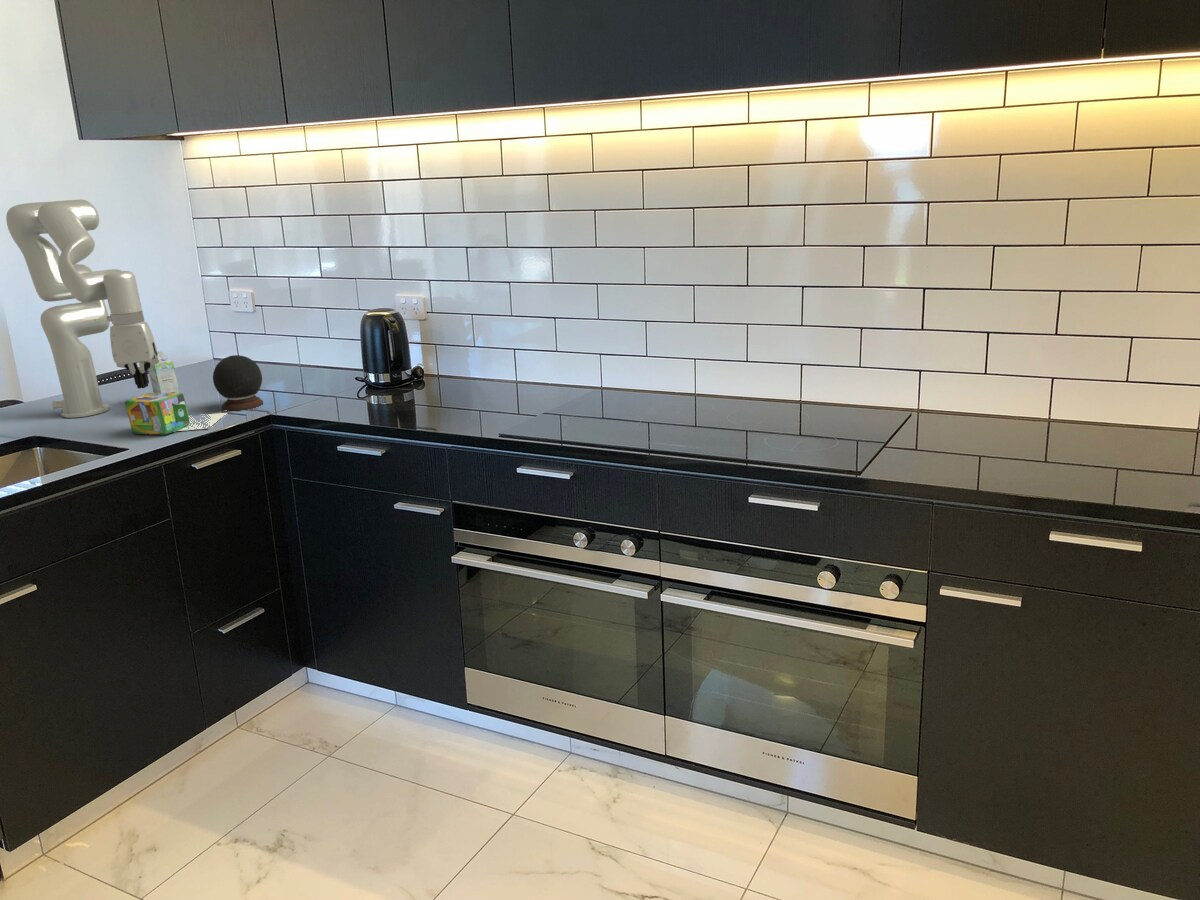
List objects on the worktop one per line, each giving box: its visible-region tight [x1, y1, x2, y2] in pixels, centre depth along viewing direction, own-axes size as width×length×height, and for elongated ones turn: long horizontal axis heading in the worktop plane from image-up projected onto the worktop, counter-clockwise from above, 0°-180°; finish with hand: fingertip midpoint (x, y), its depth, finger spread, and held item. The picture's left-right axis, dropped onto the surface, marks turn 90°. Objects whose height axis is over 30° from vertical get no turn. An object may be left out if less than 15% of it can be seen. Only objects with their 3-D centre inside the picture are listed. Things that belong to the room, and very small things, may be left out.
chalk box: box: [124, 392, 190, 435], centre depth 243 cm, size 9×9×15 cm
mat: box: [176, 412, 228, 431], centre depth 251 cm, size 16×16×1 cm
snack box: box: [147, 350, 181, 393], centre depth 271 cm, size 21×6×15 cm, turn 33°
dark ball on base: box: [212, 354, 264, 412], centre depth 264 cm, size 13×13×15 cm
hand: (143, 387), depth 247 cm, fingers closed
